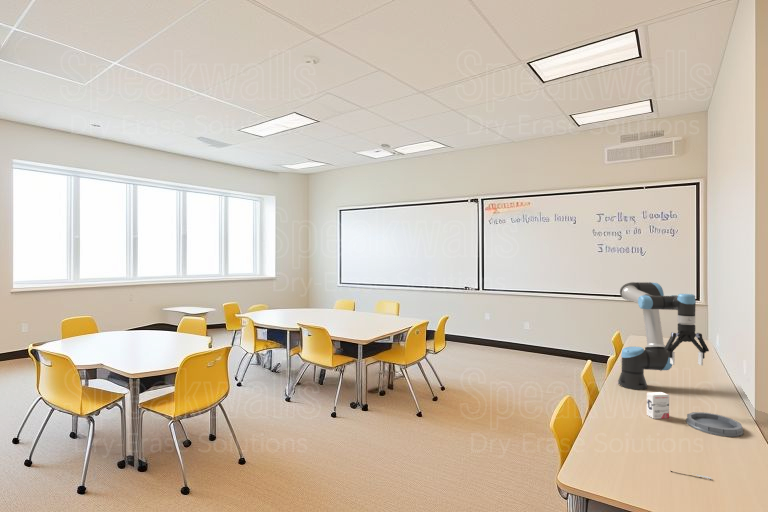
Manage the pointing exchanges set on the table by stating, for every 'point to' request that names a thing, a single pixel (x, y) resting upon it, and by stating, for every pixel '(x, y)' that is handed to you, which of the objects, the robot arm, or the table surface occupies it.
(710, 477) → the grey thin rod
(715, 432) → the round bowl
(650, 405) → the ink box
